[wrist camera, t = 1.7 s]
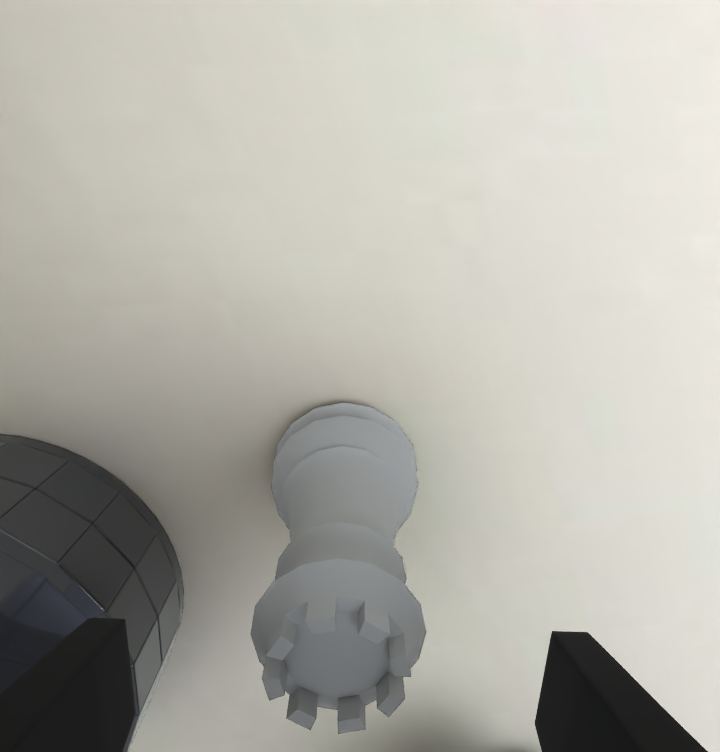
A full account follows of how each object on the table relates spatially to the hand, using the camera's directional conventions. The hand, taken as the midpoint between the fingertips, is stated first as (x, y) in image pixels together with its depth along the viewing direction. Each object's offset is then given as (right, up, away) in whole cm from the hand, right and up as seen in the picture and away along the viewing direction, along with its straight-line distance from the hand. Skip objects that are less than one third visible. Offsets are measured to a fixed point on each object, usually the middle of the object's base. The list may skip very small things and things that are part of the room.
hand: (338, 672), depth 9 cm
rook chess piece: (0, +2, +8) cm, 8 cm away
